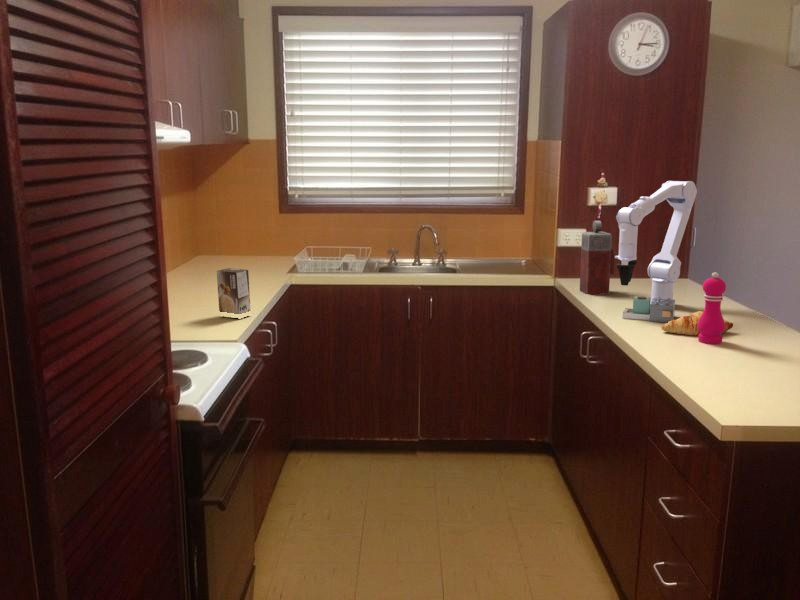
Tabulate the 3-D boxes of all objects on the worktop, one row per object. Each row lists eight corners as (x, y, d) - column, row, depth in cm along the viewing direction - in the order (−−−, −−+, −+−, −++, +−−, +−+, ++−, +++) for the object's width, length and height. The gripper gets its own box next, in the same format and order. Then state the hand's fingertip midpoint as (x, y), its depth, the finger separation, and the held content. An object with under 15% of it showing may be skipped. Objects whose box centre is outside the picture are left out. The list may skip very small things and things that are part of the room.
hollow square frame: (625, 312, 241) (626, 294, 240) (674, 315, 235) (675, 297, 234) (621, 319, 230) (622, 301, 229) (672, 323, 224) (673, 304, 223)
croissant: (663, 346, 211) (669, 326, 206) (654, 324, 219) (659, 304, 214) (735, 344, 211) (742, 324, 206) (722, 322, 218) (729, 302, 213)
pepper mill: (700, 337, 207) (705, 269, 203) (726, 340, 203) (732, 271, 199) (692, 342, 202) (698, 272, 198) (719, 346, 197) (725, 275, 193)
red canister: (615, 294, 274) (618, 221, 268) (586, 294, 273) (589, 221, 267) (606, 289, 282) (610, 219, 277) (579, 290, 282) (582, 219, 276)
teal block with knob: (649, 313, 235) (650, 296, 234) (648, 316, 230) (649, 299, 229) (633, 312, 237) (634, 295, 236) (632, 315, 232) (633, 298, 231)
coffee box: (252, 316, 241) (249, 269, 237) (239, 320, 235) (237, 272, 232) (231, 313, 245) (228, 267, 242) (218, 317, 239) (215, 270, 236)
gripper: (618, 240, 245) (616, 279, 248) (612, 245, 232) (610, 286, 235) (639, 241, 242) (637, 280, 245) (635, 246, 229) (633, 287, 232)
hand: (625, 283), depth 240 cm, fingers open, 7 cm apart
